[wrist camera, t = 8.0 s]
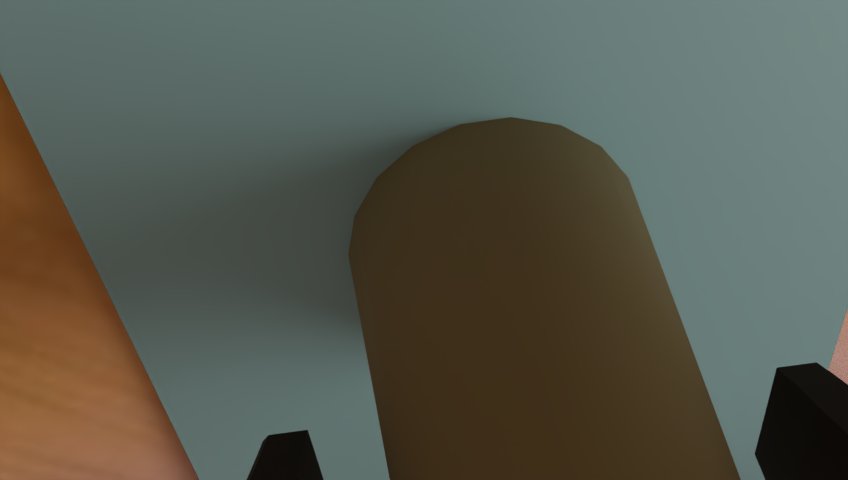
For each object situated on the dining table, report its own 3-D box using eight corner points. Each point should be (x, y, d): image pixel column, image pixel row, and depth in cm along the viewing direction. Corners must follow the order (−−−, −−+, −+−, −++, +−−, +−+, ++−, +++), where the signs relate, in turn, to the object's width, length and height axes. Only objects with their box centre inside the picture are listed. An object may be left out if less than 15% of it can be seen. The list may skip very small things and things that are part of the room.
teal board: (777, 461, 20) (791, 484, 19) (241, 532, 20) (237, 557, 19) (1003, -327, 10) (1050, -335, 9) (-87, -174, 10) (-120, -172, 9)
